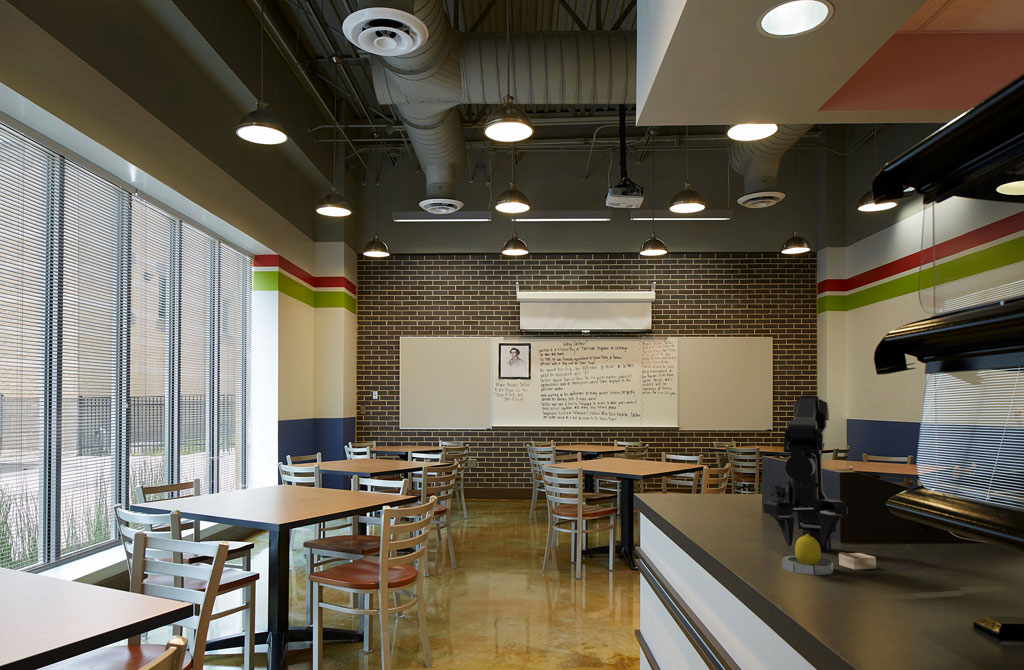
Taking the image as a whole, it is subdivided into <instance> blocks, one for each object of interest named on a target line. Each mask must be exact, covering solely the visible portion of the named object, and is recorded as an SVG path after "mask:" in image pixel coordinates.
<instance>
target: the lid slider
mask: <svg viewBox="0 0 1024 670" xmlns="http://www.w3.org/2000/svg"><path fill="white" fill-rule="evenodd" d="M838 564H839V565H838V566H842V567H846V568H849V569H852V570H854V571H855V570H868V569H869V570H871V569H874V570H875V569H877V559H876V556H873V555H869V554H865V553H861V552H854V553H853V552H851V553H846V552H845V551H844V552H843V551H842V552H839V553H838Z"/></svg>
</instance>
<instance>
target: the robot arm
mask: <svg viewBox="0 0 1024 670" xmlns="http://www.w3.org/2000/svg"><path fill="white" fill-rule="evenodd" d="M792 405H793V411H792V413H793V417H794V419H791V420H789V422H788V424H787V427H785V428H784V439H783V453H790V457H788V459H787V461H786V462H785V472H786V474H787V476H789V477H790V478H791V480H787V482H786V487H782V486H781V485H778V484H777V485H776V484H774V485H771V486H770V488H769V494H770V498H771V500H765V503H764V504H763V513H764V514H768V516H769V517H771V518H774V520H775V521H776V522H777V525H778V526H779V528H780V530H781V533H782V535H783V538H784V540H785V543H786V546H787V547H792V545H793V538H794V528H795V527H794V526H795V517H794V516H792V515H793V513H794V512H795V513H796V514H797V523H798V525H797V526H798V530H802V534H801V537H802V536H805V535H806V534H809V535H810V536H811V537H813V538H815V539H816V540H817V542H818V543H819V546H820V550H821V553H826V552H829V551H832V539H831V535H832V533H835V532H837V524H838V522H839V521H840V519H843V518H844V515H848V506H847V504H846V503H845V501H843V500H837V499H831V498H828V497H827V495H826V494H825V492H824V491H823V463H822V461H823V460H822V451H823V449H824V447H823V446H824V432H825V430H826V429H827V426H828V425H827V421H830V409H829V405H828V402H827V401H824V400H822V399H820V396H819V395H816V394H805V395H804V394H801V395H798V396H797V399H796V400H795V401H794V402H793V404H792Z"/></svg>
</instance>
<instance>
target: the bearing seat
mask: <svg viewBox="0 0 1024 670" xmlns="http://www.w3.org/2000/svg"><path fill="white" fill-rule="evenodd" d="M781 565H782V567H781V568H782V569H783V570H787V571H789V572H792V573H795V574H802V575H803V574H804V575H809V576H811V575H812V576H820V575H821V576H823V575H832V573H834V561H832V560H828V559H826V558H822V557H820V561H819V562H818V564H817V565H809V564H801V563H799V562H798V560H797V558H796V555H786V556H784V557H783V558H782V559H781Z"/></svg>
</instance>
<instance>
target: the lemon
mask: <svg viewBox="0 0 1024 670" xmlns="http://www.w3.org/2000/svg"><path fill="white" fill-rule="evenodd" d="M801 536H802V535H801ZM794 552H795V553H794V556H796V558H797V560H798V562H799V563H801V564H809V565H817V564H818V562H819V561H820V558H822V557H821V556H822V552H821V550H820V546H819V543H818V542H817V540H816V539H815V538H813V537H811V536H810V535H809V534H806V535H805V536H802V537H798V539H797V540H796V542H795V545H794Z"/></svg>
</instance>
